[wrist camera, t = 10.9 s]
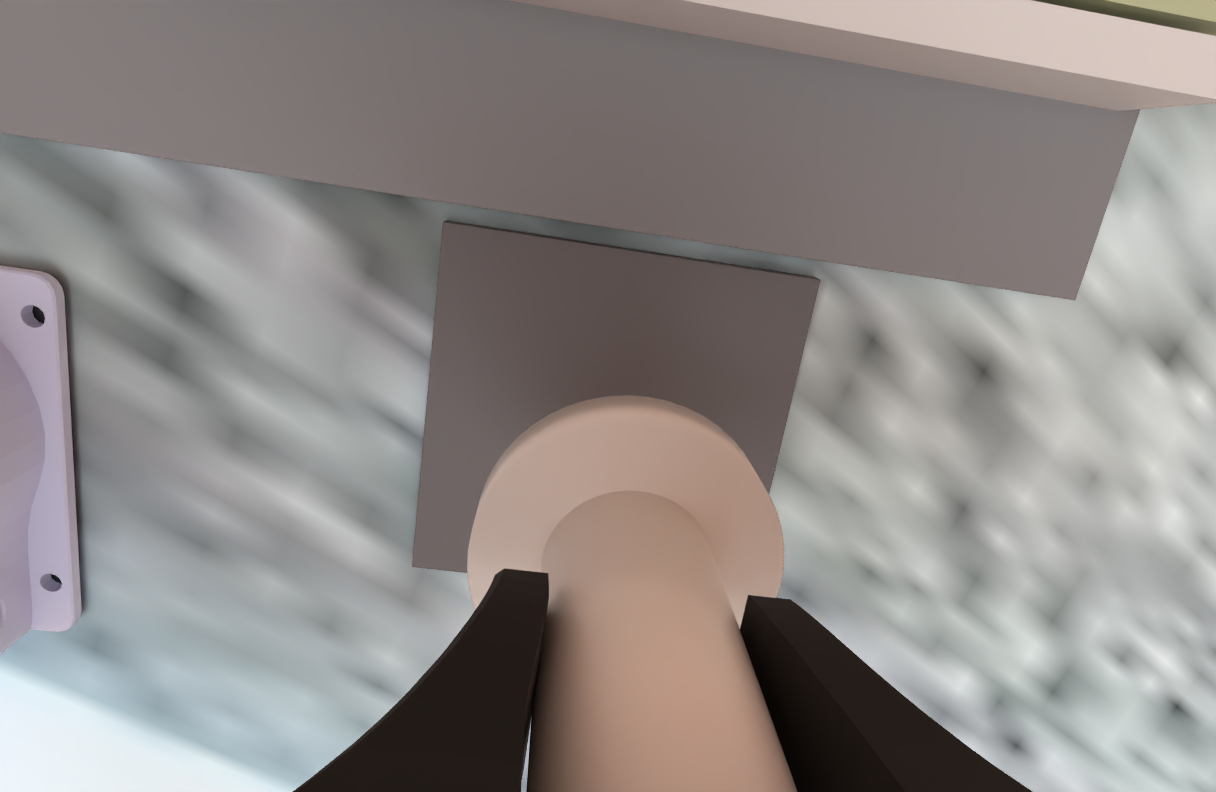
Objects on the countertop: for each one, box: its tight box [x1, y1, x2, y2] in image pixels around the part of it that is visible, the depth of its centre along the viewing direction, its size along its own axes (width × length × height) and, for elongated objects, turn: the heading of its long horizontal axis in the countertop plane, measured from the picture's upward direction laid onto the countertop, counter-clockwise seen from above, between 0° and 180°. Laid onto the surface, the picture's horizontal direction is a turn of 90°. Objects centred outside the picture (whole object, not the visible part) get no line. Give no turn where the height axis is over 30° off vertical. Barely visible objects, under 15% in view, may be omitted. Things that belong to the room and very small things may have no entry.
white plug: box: [467, 395, 797, 792], centre depth 10 cm, size 5×5×8 cm
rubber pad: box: [412, 221, 820, 573], centre depth 19 cm, size 9×9×1 cm
